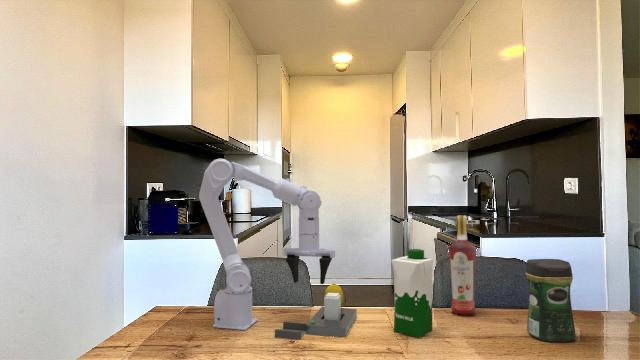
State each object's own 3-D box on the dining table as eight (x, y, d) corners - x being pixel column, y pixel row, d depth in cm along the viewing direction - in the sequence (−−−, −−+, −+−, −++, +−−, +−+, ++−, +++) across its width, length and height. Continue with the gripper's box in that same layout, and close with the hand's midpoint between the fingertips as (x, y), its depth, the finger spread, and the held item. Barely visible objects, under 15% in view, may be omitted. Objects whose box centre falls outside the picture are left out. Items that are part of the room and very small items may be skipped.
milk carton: (437, 330, 97) (436, 250, 97) (420, 340, 90) (418, 255, 91) (406, 322, 103) (405, 247, 103) (388, 331, 96) (387, 251, 97)
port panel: (305, 334, 95) (305, 323, 95) (322, 314, 110) (322, 305, 110) (345, 337, 92) (345, 326, 92) (356, 317, 108) (356, 307, 108)
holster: (274, 338, 93) (274, 329, 93) (284, 329, 99) (284, 321, 99) (300, 340, 91) (300, 332, 91) (308, 331, 97) (308, 323, 98)
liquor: (479, 311, 112) (477, 215, 112) (474, 319, 105) (472, 216, 106) (453, 308, 115) (451, 214, 116) (447, 314, 109) (445, 216, 110)
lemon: (341, 313, 111) (341, 285, 111) (323, 312, 112) (322, 284, 112) (344, 308, 116) (344, 281, 116) (326, 307, 117) (326, 280, 117)
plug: (324, 327, 100) (324, 295, 100) (327, 322, 103) (327, 292, 103) (337, 328, 99) (337, 296, 99) (340, 323, 102) (340, 293, 103)
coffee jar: (561, 331, 96) (559, 256, 97) (581, 343, 88) (579, 262, 89) (521, 330, 96) (520, 256, 97) (538, 343, 88) (536, 261, 89)
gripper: (279, 234, 105) (279, 284, 105) (330, 235, 102) (331, 287, 101) (288, 231, 112) (288, 278, 112) (336, 233, 108) (337, 281, 108)
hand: (309, 282), depth 107 cm, fingers open, 7 cm apart
